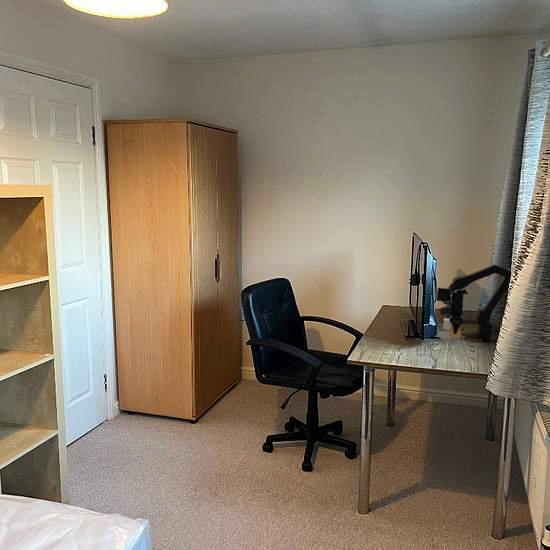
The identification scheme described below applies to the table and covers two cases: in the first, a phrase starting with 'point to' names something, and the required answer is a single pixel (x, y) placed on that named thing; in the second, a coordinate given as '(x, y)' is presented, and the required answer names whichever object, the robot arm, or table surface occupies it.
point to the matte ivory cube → (446, 324)
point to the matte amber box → (451, 333)
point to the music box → (445, 314)
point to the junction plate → (446, 335)
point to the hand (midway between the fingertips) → (455, 331)
